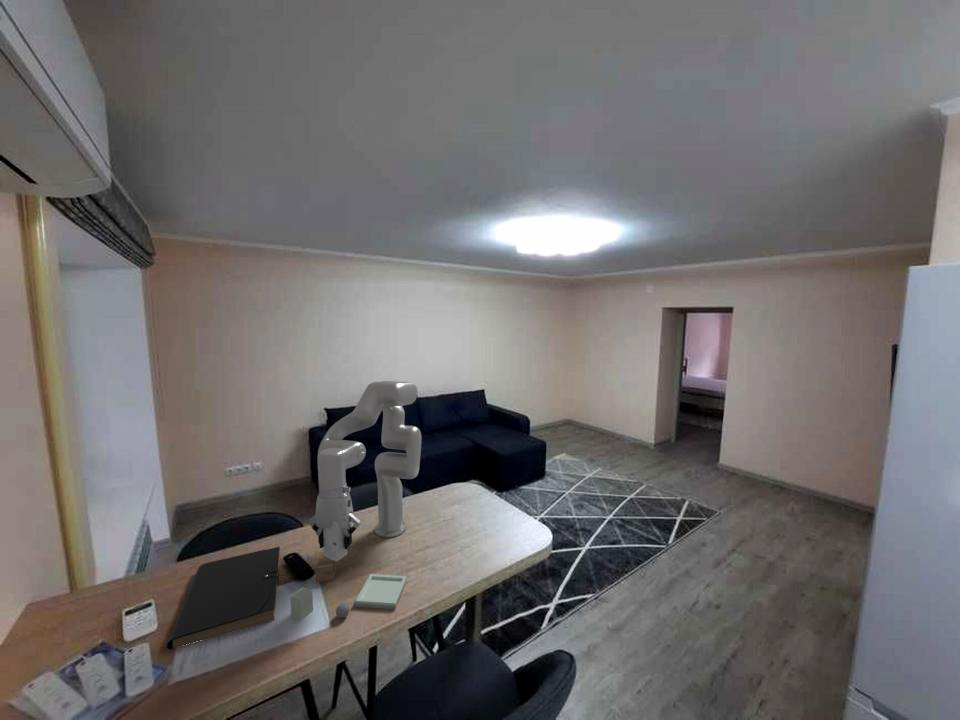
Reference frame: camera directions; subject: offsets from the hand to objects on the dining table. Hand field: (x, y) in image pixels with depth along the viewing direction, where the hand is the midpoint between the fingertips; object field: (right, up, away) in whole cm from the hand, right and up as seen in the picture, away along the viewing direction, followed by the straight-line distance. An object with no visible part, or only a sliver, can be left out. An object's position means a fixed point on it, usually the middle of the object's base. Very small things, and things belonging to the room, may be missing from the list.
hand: (335, 545), depth 115 cm
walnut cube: (-7, -15, +9) cm, 18 cm away
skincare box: (0, -3, 0) cm, 3 cm away
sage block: (-7, -16, -7) cm, 19 cm away
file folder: (-31, -16, +1) cm, 35 cm away
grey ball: (+5, -16, -8) cm, 19 cm away
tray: (+14, -15, +2) cm, 21 cm away
